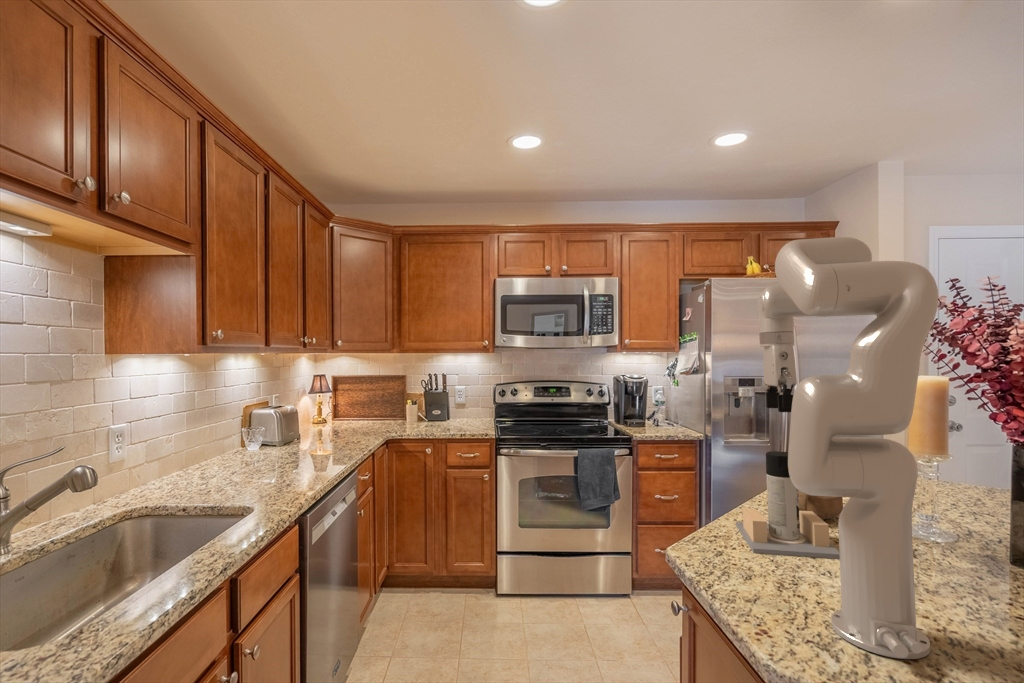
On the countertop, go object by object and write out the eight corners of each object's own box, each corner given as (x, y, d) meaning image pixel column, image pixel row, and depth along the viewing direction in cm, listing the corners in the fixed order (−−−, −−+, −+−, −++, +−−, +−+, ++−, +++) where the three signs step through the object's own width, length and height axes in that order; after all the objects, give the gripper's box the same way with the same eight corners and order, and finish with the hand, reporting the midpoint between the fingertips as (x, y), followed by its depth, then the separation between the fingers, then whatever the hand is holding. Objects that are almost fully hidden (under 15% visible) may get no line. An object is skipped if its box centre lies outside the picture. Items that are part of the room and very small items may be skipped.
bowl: (850, 528, 119) (834, 488, 121) (788, 533, 127) (775, 495, 129) (852, 509, 133) (838, 473, 135) (797, 514, 141) (784, 480, 143)
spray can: (805, 542, 112) (801, 456, 112) (773, 540, 113) (770, 455, 114) (794, 532, 118) (791, 451, 119) (764, 530, 119) (761, 450, 120)
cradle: (842, 559, 105) (841, 531, 105) (753, 552, 109) (752, 526, 109) (811, 530, 122) (810, 506, 123) (735, 525, 127) (735, 502, 127)
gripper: (806, 338, 108) (809, 414, 107) (782, 341, 125) (785, 406, 124) (770, 339, 110) (773, 413, 109) (751, 342, 127) (753, 406, 126)
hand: (779, 409), depth 117 cm, fingers open, 9 cm apart
